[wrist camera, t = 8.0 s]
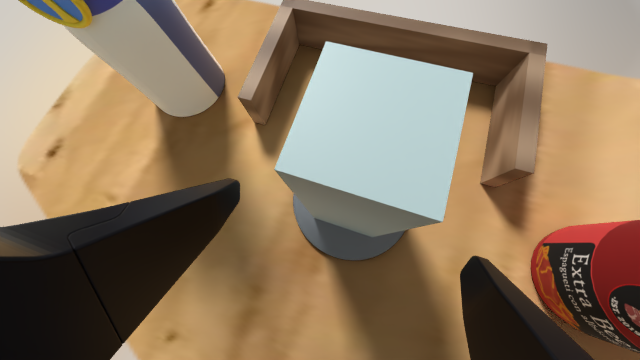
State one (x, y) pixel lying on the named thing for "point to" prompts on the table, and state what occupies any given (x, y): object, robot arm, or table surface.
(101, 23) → the blue striped jug
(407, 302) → the table surface
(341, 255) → the coaster
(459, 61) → the u-shaped wooden frame
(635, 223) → the canned food
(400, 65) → the block
